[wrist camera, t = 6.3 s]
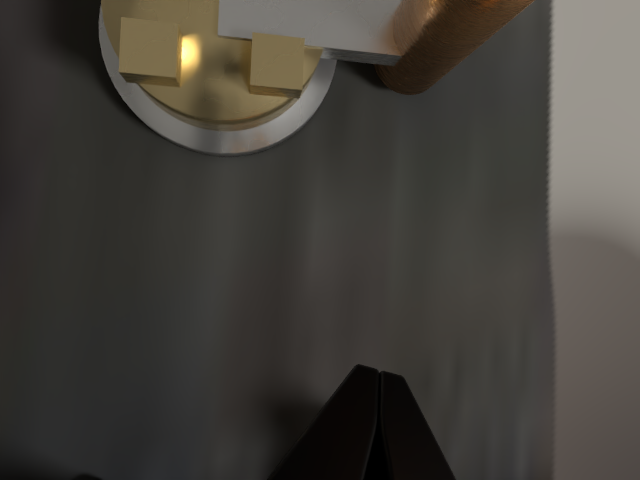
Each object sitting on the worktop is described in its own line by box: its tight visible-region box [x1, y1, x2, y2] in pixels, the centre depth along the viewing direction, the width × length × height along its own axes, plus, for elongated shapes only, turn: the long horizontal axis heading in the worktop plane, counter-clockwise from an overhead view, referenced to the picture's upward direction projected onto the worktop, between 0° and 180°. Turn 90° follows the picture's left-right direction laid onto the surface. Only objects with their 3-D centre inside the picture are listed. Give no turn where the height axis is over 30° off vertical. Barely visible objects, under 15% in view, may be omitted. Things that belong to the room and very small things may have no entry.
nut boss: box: [99, 6, 337, 157], centre depth 19 cm, size 10×10×1 cm
